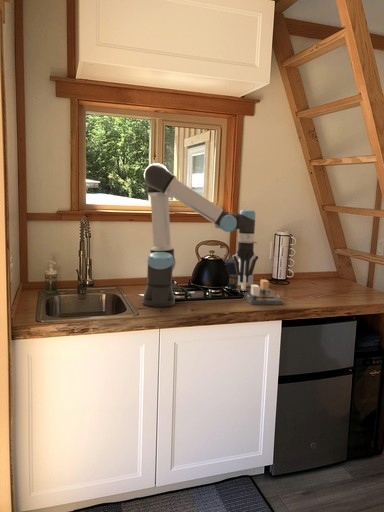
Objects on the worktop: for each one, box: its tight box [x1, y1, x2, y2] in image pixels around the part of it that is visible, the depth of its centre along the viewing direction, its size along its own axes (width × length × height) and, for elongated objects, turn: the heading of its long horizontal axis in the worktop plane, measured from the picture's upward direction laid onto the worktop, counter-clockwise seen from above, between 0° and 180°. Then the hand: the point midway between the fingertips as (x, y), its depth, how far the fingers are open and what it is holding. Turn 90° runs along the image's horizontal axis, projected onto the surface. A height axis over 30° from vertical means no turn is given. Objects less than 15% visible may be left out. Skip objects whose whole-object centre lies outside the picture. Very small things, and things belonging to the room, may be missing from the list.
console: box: [237, 287, 284, 306], centre depth 225 cm, size 16×26×3 cm, turn 9°
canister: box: [224, 258, 239, 289], centre depth 234 cm, size 10×10×18 cm
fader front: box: [250, 284, 260, 297], centre depth 217 cm, size 3×5×5 cm, turn 9°
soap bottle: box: [238, 240, 258, 288], centre depth 251 cm, size 11×12×26 cm
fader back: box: [259, 279, 270, 291], centre depth 231 cm, size 3×5×5 cm, turn 9°
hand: (243, 288), depth 216 cm, fingers closed
